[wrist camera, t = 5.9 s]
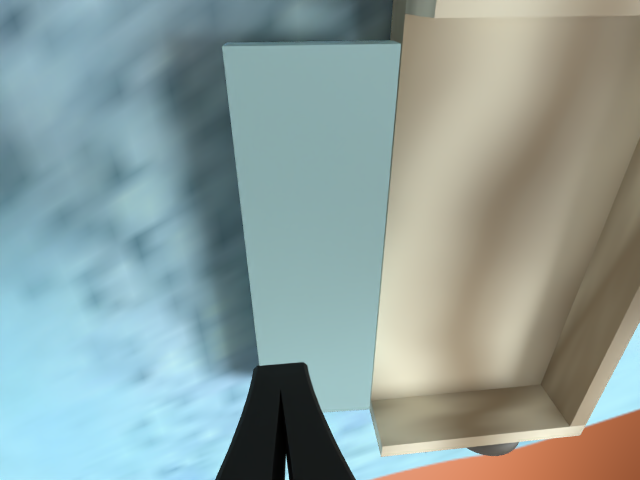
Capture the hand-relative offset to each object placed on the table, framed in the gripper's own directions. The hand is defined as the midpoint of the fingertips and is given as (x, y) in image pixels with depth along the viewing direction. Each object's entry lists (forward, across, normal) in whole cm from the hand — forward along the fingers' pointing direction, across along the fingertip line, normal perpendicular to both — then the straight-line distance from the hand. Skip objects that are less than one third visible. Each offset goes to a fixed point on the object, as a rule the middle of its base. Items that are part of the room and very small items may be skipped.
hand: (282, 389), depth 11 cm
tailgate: (+6, -4, 0) cm, 7 cm away
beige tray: (+7, -9, 0) cm, 12 cm away
